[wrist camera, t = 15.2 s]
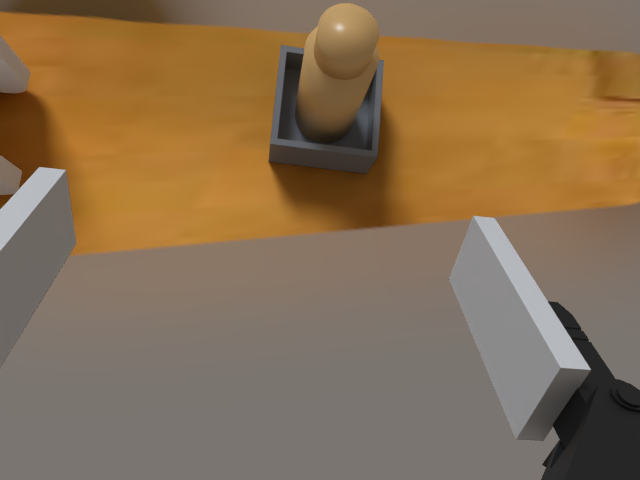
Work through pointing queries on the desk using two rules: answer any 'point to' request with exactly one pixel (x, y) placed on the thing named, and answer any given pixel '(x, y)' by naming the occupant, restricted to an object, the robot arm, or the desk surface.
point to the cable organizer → (11, 77)
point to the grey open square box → (300, 150)
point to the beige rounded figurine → (336, 72)
